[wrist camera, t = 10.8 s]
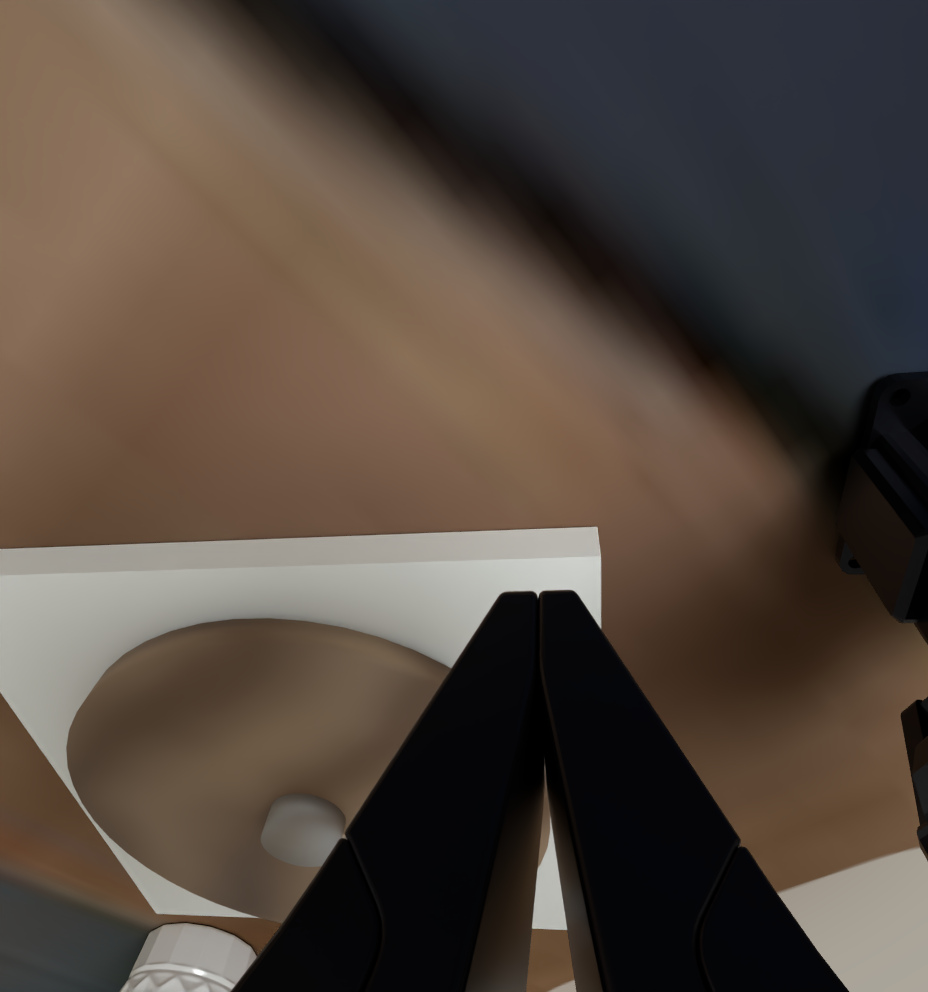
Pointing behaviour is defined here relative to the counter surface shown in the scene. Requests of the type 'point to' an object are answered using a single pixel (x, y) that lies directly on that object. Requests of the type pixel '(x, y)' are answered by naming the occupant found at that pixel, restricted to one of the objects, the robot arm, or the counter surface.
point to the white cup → (189, 960)
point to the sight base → (262, 594)
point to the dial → (246, 751)
